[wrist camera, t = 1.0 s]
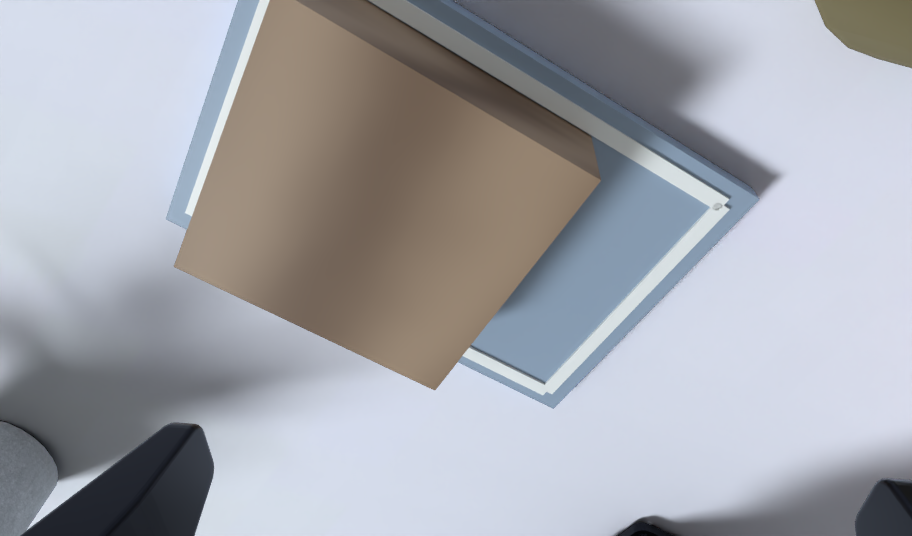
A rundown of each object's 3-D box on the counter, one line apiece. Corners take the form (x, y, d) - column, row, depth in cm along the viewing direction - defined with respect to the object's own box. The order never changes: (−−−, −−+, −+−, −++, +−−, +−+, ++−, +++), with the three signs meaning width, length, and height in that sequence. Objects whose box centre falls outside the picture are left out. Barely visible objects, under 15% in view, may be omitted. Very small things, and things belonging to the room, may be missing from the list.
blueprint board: (751, 187, 20) (760, 200, 19) (552, 394, 25) (553, 410, 25) (282, -106, 16) (271, -104, 16) (176, 208, 22) (164, 220, 21)
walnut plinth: (591, 135, 18) (601, 180, 16) (444, 332, 23) (434, 390, 21) (312, -33, 17) (274, -13, 14) (215, 218, 21) (173, 266, 19)
